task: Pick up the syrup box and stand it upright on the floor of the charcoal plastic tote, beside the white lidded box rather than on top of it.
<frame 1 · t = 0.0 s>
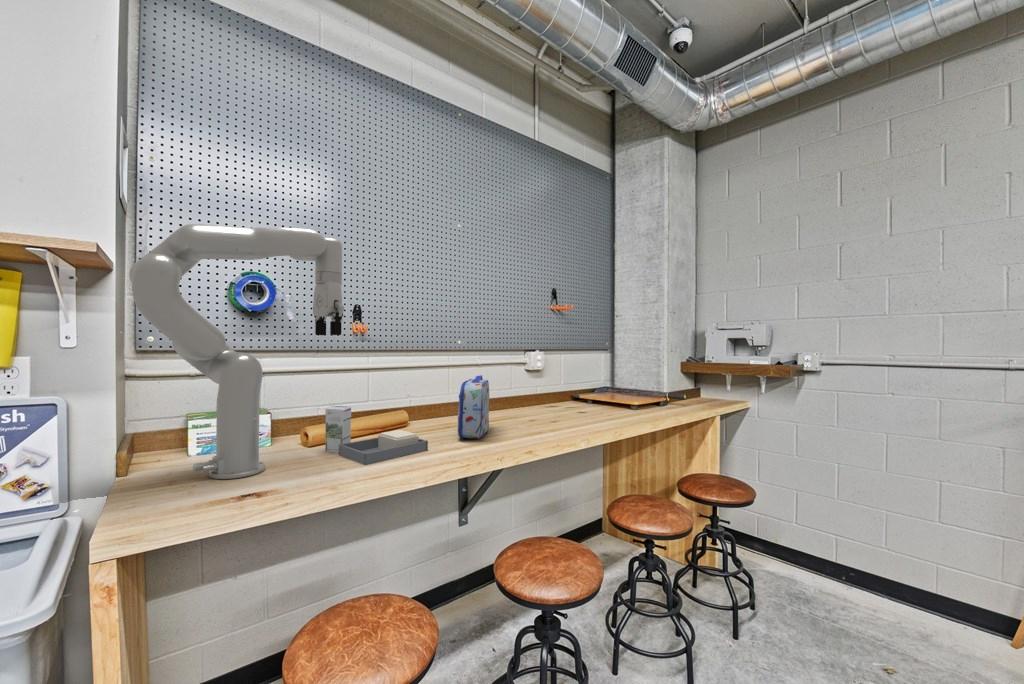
hand: (328, 335, 130), 37 cm above the worktop, tool pointing down, fingers open, 9 cm apart
lunch box: (474, 434, 160), on the worktop
white lidded box: (398, 449, 133), point 1 cm above the worktop, touching tote
tote: (384, 455, 129), on the worktop
syrup box: (338, 453, 131), on the worktop
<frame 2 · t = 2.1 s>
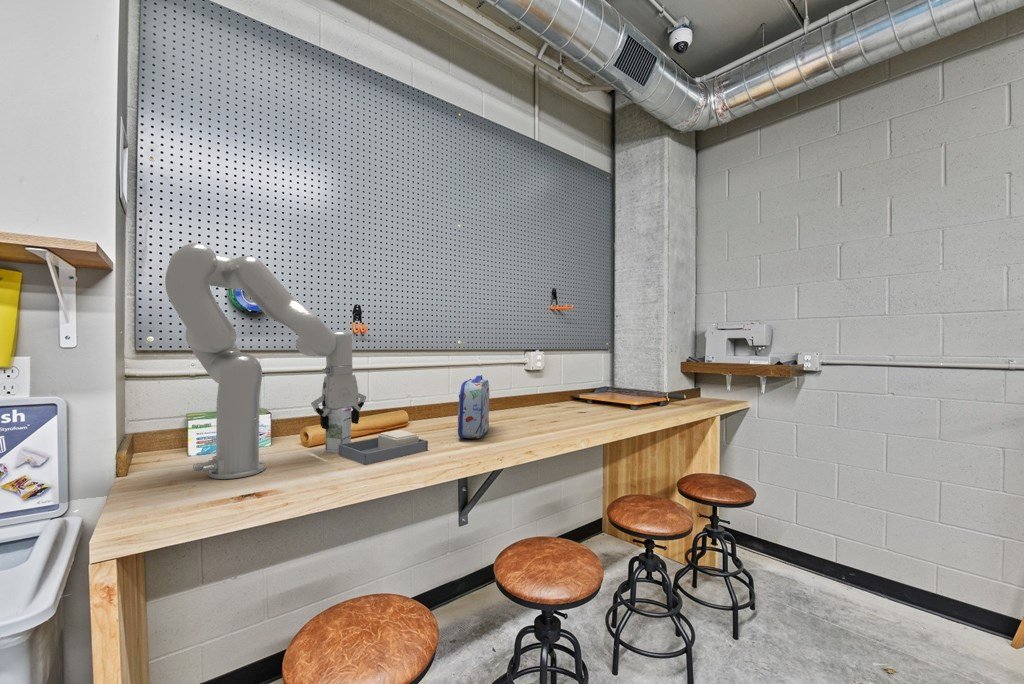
hand: (340, 425, 132), 8 cm above the worktop, tool pointing down, fingers open, 9 cm apart
nothing on the worktop moved.
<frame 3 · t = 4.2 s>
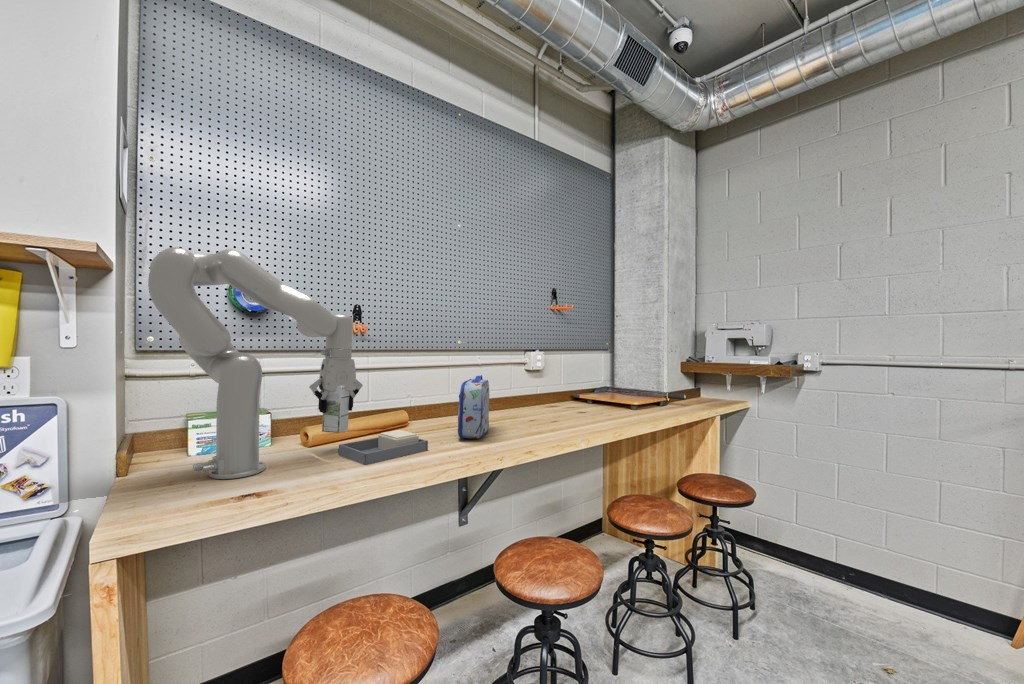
hand: (336, 410, 131), 13 cm above the worktop, tool pointing down, fingers closed on syrup box, 7 cm apart
syrup box: (335, 431, 131), point 7 cm above the worktop, touching gripper
everything else where it was.
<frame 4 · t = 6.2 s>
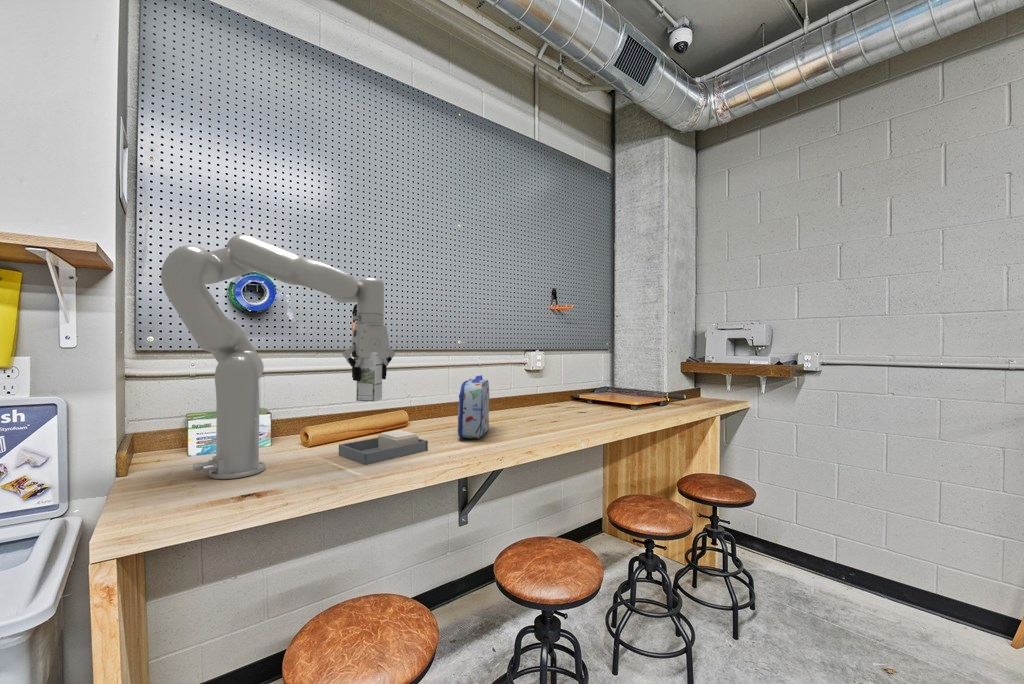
hand: (369, 379, 125), 24 cm above the worktop, tool pointing down, fingers closed on syrup box, 7 cm apart
syrup box: (369, 401, 125), point 17 cm above the worktop, touching gripper
everything else where it was.
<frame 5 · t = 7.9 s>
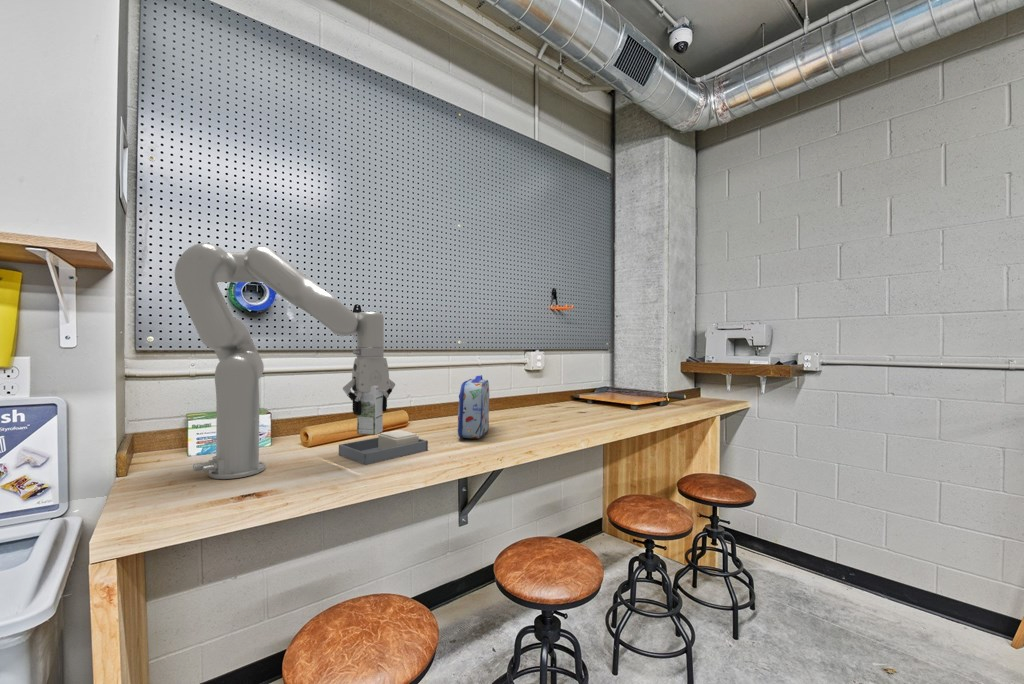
hand: (370, 412, 125), 14 cm above the worktop, tool pointing down, fingers closed on syrup box, 7 cm apart
syrup box: (370, 433, 125), point 7 cm above the worktop, touching gripper
everything else where it was.
when the fingers open (9 cm above the worktop, at t = 9.6 s): syrup box drops 1 cm, resting on tote.
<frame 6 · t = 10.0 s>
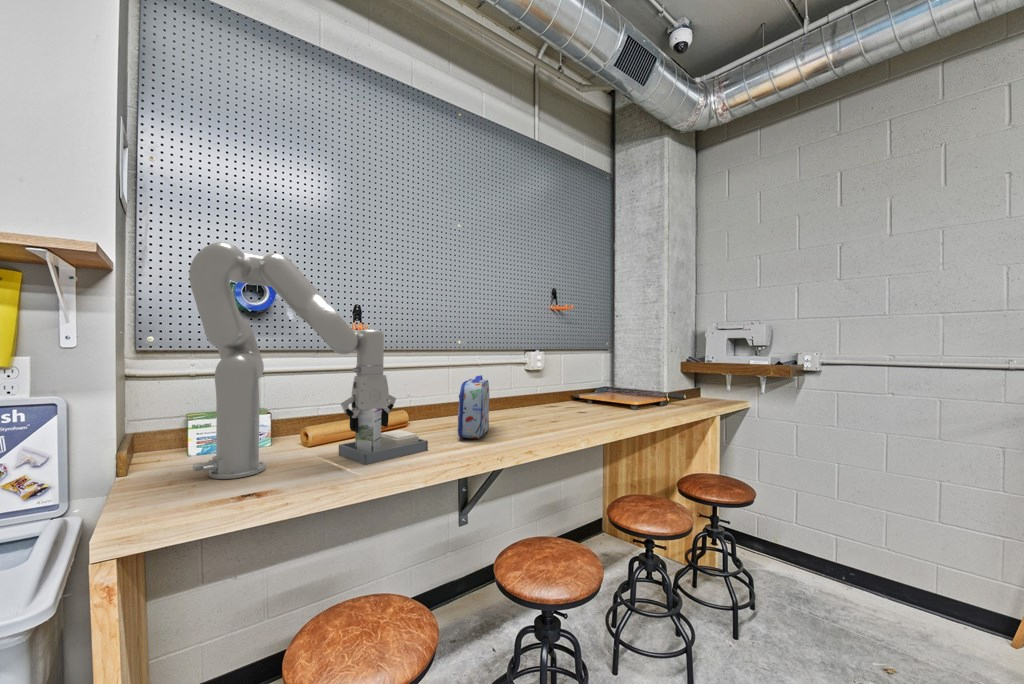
hand: (369, 428, 125), 9 cm above the worktop, tool pointing down, fingers open, 9 cm apart
syrup box: (368, 456, 125), point 1 cm above the worktop, touching tote
everything else where it was.
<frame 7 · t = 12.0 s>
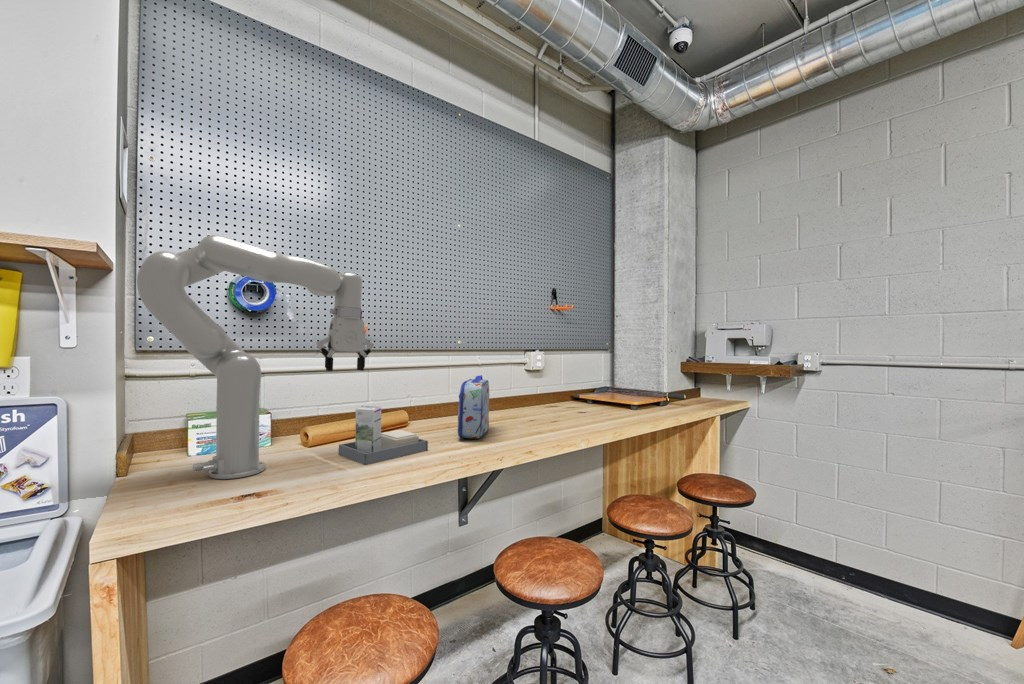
hand: (345, 370, 128), 26 cm above the worktop, tool pointing down, fingers open, 9 cm apart
nothing on the worktop moved.
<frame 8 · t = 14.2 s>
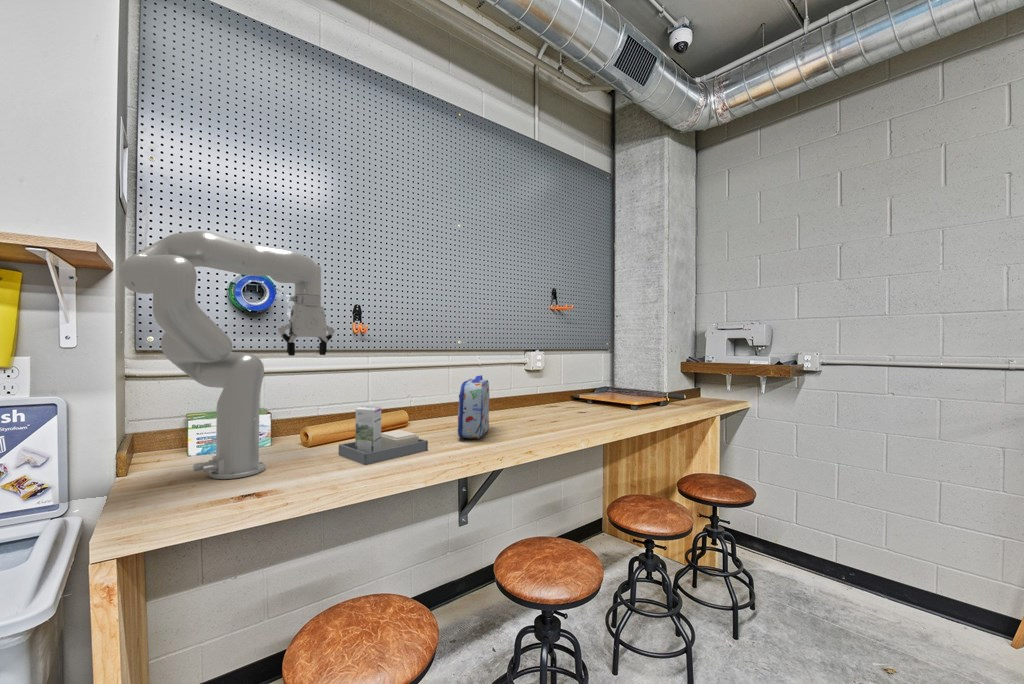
hand: (307, 355, 135), 30 cm above the worktop, tool pointing down, fingers open, 9 cm apart
nothing on the worktop moved.
at the end: syrup box inside the target area on the tote (1.3 cm from its centre), point 0.8 cm above the tote's base; syrup box tilted 0°; white lidded box moved 0.0 cm from its start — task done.
